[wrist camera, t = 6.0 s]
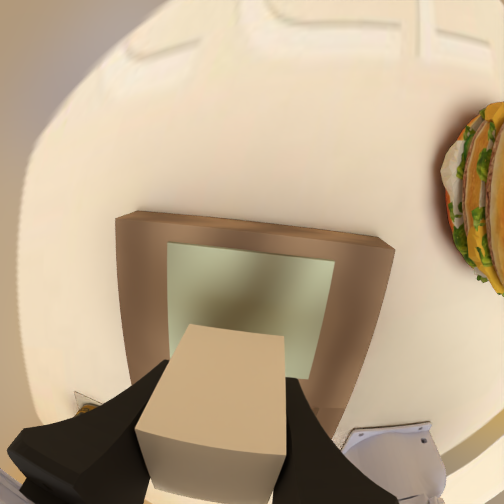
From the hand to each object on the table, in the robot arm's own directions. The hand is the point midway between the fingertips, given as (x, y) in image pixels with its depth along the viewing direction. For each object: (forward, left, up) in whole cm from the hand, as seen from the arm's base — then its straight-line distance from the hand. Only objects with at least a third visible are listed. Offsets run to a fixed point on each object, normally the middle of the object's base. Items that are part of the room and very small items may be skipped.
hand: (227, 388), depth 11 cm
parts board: (0, +5, -9) cm, 10 cm away
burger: (-18, -10, -10) cm, 23 cm away
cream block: (0, 0, -2) cm, 2 cm away
